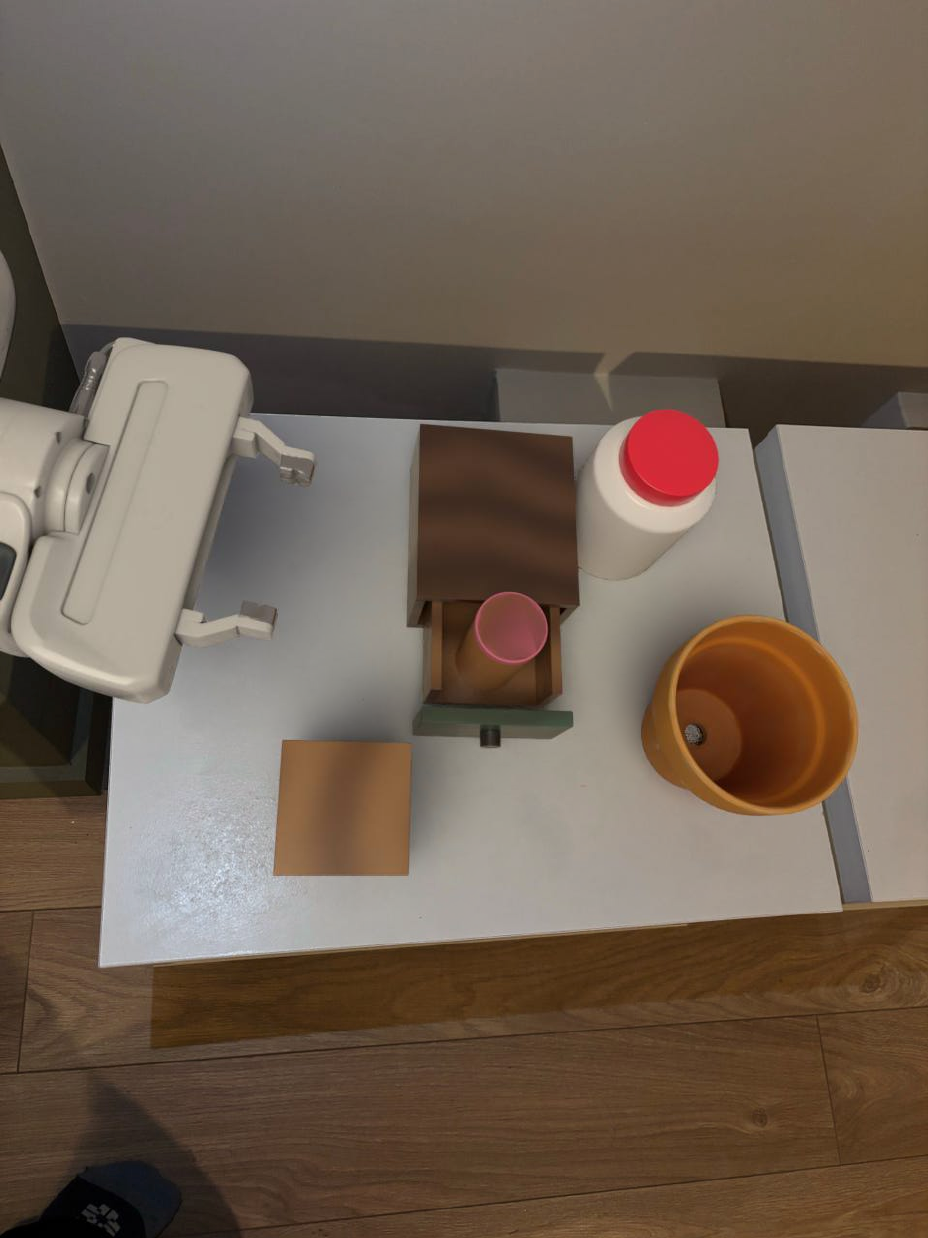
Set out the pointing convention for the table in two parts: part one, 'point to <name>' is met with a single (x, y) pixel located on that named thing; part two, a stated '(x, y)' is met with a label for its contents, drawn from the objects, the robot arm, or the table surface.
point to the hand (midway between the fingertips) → (294, 545)
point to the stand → (343, 809)
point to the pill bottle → (643, 492)
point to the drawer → (524, 689)
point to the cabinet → (491, 519)
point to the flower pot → (753, 718)
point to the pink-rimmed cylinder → (501, 640)
